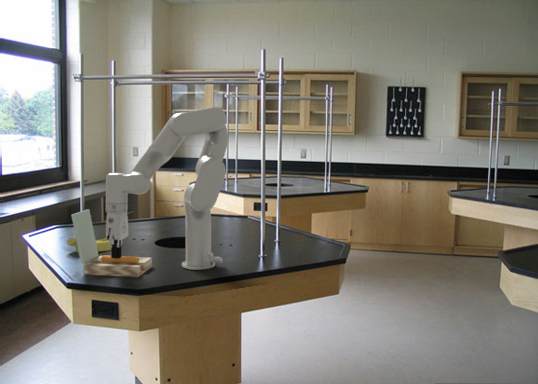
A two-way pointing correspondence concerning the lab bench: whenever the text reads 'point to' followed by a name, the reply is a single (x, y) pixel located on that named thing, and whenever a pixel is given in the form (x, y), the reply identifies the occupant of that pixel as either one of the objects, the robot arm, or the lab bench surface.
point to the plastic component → (101, 244)
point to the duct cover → (85, 235)
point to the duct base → (117, 267)
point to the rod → (120, 259)
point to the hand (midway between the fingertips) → (116, 257)
